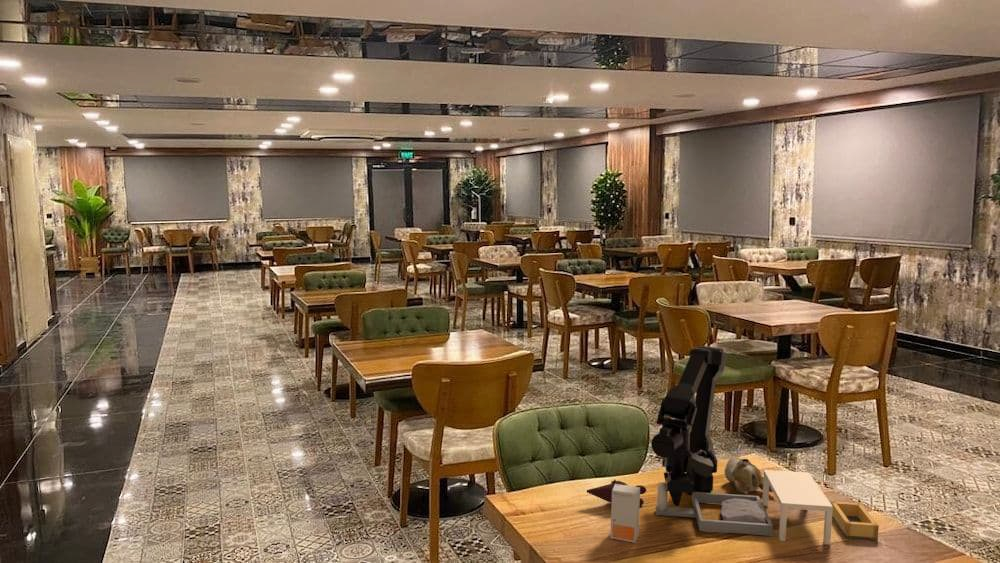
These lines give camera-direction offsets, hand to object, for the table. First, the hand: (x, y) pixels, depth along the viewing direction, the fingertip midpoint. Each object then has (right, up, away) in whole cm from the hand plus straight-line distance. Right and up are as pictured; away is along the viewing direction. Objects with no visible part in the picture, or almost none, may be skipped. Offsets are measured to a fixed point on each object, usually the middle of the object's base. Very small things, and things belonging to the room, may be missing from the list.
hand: (676, 505), depth 177 cm
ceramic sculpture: (+23, -1, +16) cm, 28 cm away
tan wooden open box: (+41, -3, -6) cm, 42 cm away
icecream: (-14, -2, +5) cm, 15 cm away
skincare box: (-15, -4, -11) cm, 19 cm away
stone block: (+15, -3, -2) cm, 16 cm away
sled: (+8, -2, -1) cm, 8 cm away
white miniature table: (+28, -3, -4) cm, 28 cm away
